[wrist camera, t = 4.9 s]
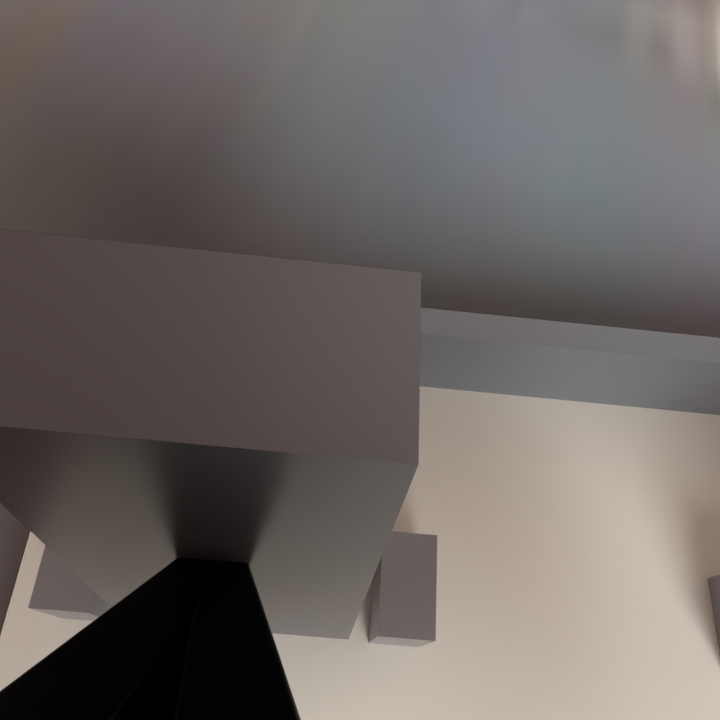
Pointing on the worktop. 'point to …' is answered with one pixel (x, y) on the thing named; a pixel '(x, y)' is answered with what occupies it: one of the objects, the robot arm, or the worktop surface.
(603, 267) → the worktop surface
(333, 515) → the grey rectangular carton
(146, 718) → the robot arm
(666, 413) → the switch panel
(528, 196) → the worktop surface
